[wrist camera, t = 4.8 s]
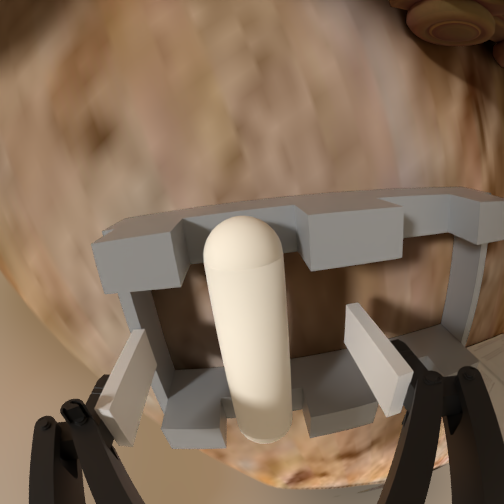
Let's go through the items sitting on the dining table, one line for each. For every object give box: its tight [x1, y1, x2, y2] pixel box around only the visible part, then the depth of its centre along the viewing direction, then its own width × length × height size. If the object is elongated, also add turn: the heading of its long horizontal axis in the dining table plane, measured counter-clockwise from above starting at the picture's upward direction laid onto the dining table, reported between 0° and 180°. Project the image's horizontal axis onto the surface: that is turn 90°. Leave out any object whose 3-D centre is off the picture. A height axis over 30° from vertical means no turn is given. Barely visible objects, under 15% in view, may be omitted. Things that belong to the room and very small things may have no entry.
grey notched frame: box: [91, 187, 504, 449], centre depth 16 cm, size 25×15×6 cm, turn 96°
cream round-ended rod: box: [203, 216, 292, 444], centre depth 14 cm, size 4×14×4 cm, turn 6°
